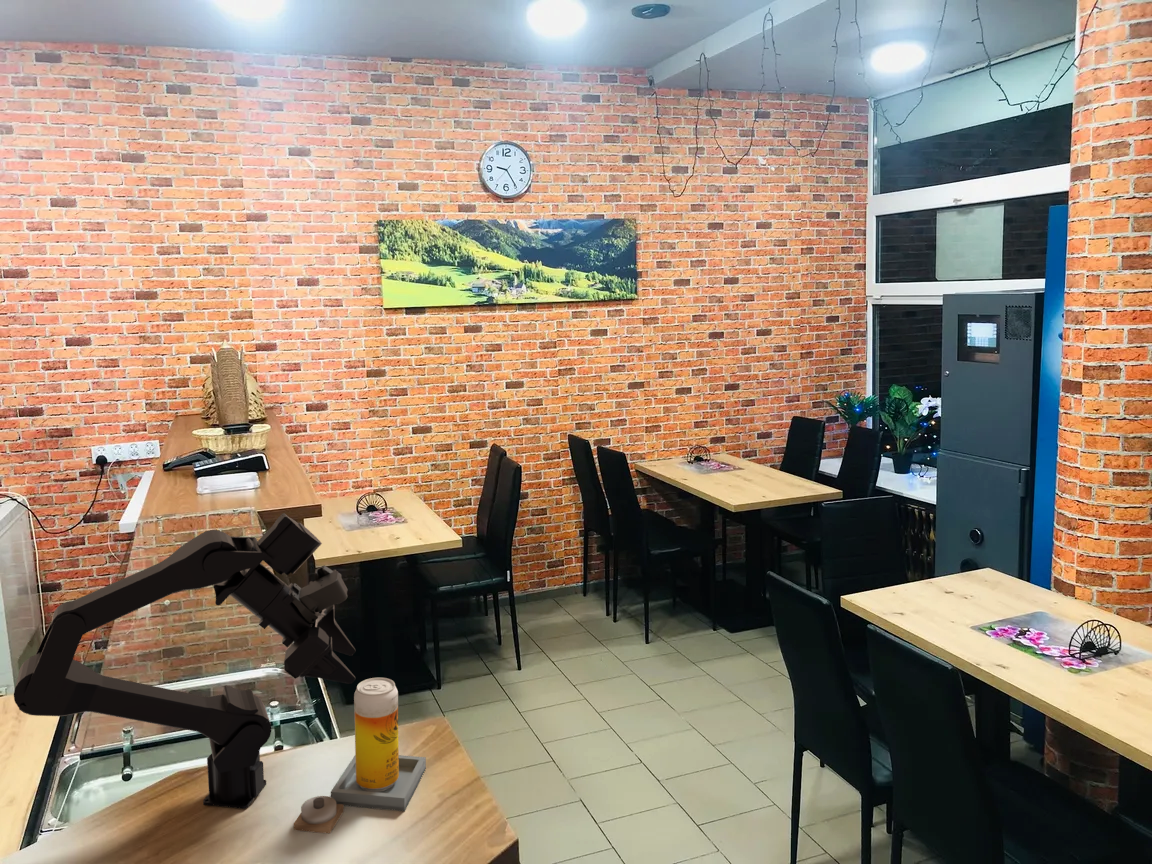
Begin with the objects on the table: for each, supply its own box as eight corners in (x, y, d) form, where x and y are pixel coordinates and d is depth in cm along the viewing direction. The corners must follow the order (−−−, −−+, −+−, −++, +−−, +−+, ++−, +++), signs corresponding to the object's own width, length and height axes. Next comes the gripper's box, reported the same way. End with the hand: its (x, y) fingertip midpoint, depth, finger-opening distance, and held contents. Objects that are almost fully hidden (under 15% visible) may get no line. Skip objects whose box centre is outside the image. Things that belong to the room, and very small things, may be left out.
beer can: (396, 793, 126) (395, 695, 123) (352, 794, 125) (350, 696, 123) (400, 770, 132) (399, 675, 129) (359, 771, 131) (357, 676, 129)
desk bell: (293, 830, 118) (293, 809, 118) (309, 808, 123) (308, 788, 122) (329, 833, 118) (329, 813, 117) (343, 811, 122) (343, 791, 122)
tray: (331, 804, 124) (330, 791, 124) (357, 763, 134) (357, 751, 134) (404, 811, 123) (404, 798, 122) (425, 769, 133) (425, 757, 133)
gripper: (307, 579, 114) (396, 653, 119) (314, 537, 132) (391, 603, 137) (245, 642, 114) (336, 713, 118) (260, 591, 131) (339, 654, 136)
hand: (353, 666), depth 127 cm, fingers open, 9 cm apart
